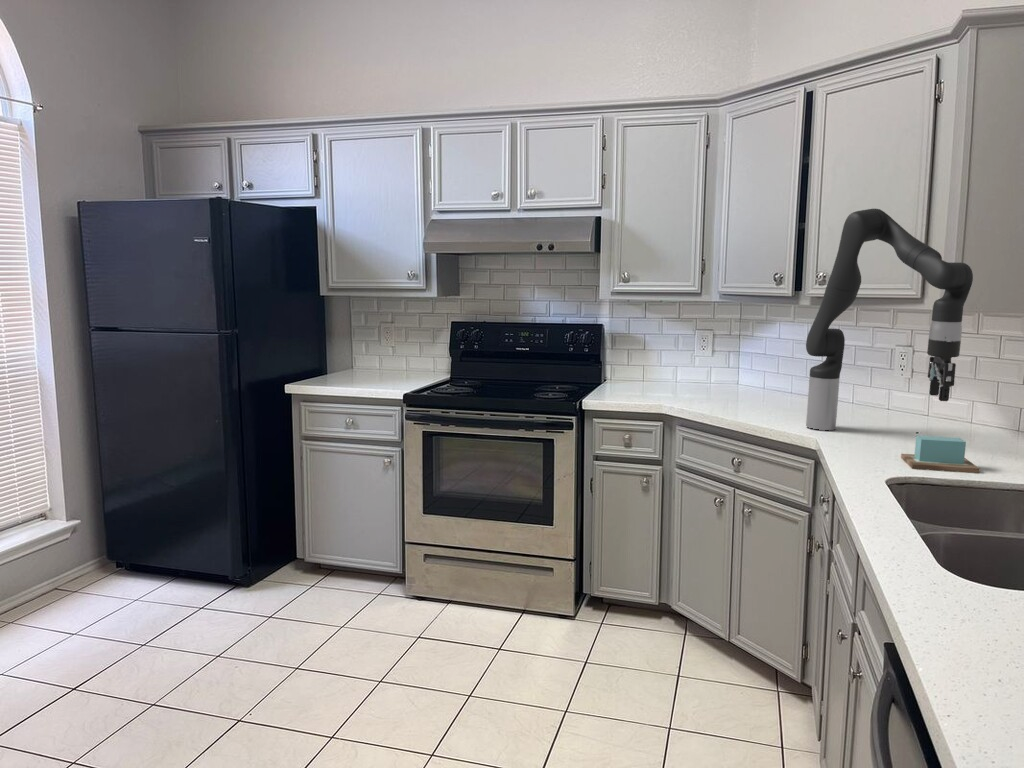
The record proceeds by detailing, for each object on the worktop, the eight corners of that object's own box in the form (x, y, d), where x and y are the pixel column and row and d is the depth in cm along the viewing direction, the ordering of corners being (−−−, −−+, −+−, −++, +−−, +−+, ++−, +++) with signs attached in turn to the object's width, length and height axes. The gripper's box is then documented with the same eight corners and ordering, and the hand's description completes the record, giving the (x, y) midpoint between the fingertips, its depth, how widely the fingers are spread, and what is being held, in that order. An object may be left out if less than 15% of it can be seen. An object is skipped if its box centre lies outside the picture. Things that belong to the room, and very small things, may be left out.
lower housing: (914, 456, 210) (916, 435, 209) (957, 459, 207) (959, 437, 206) (919, 461, 205) (921, 439, 204) (963, 463, 202) (966, 442, 201)
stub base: (900, 457, 214) (902, 445, 213) (964, 461, 210) (965, 449, 209) (912, 468, 202) (913, 455, 202) (979, 473, 198) (980, 459, 198)
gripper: (921, 335, 210) (915, 392, 212) (937, 340, 196) (931, 402, 199) (951, 336, 208) (945, 394, 211) (969, 341, 194) (962, 403, 197)
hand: (938, 398), depth 205 cm, fingers open, 8 cm apart
